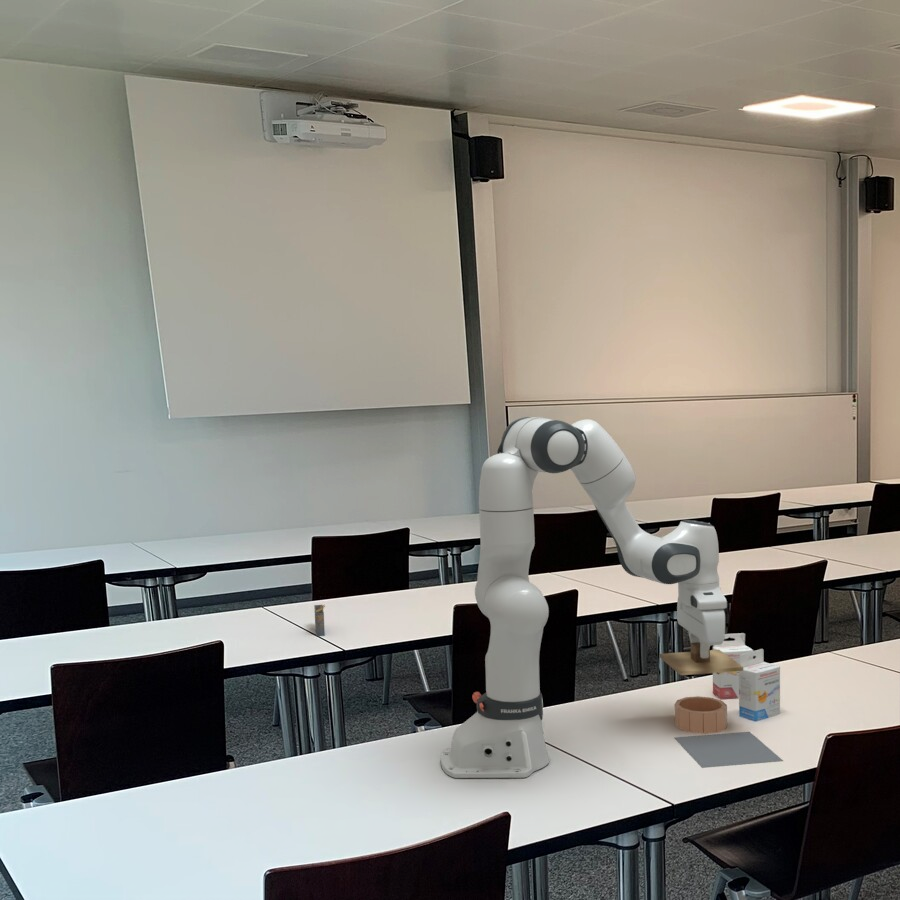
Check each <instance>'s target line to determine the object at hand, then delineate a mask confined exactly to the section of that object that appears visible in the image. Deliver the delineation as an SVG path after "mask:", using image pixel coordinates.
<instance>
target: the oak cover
mask: <svg viewBox="0 0 900 900" xmlns="http://www.w3.org/2000/svg"><path fill="white" fill-rule="evenodd" d="M700 644H701V643H700V642H697V643H691V642H690V651H683V652H682V651H680V652H668V653H667V652H666V653H659V658H660V659H661V660H662V661H664V663H665V664H667V665H668V666H669V667H671V668H672V670H674V671H675V672H676V673H678V675H680V676H688V675H692V676H693V675H703V674H704V675H705V674H713V673H718V672H732V671H743V666H741V665H740V664H738V663H737V662H736V661H734V660H733V659H731V658H730V657H729V656H727V655H726V654H724V653H723V652H722V651H720V650H713V649H711V648H709V657H708V658H701V657H700V656H699V649H700ZM710 649H711V650H710Z"/></svg>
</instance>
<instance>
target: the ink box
mask: <svg viewBox="0 0 900 900" xmlns="http://www.w3.org/2000/svg"><path fill="white" fill-rule="evenodd" d="M764 652H765V651H764V649H763V648H759V649H757V650H753V651H752V652H748V653H745V654H741V655H740V662H739V664H740V665H741V666H743V671H739V698H738V705H739V706H738V707H739V710H738V713H739V717H740V718H743V719H747V720H750V721H752V722H759V721H762V720H766V719H769V718H772V717H775V716H779V715H781V666H779V665H778V664H777V665H776V664H773V663H769V662H766V661H764V659H765V658H764ZM751 655H752V656H753V659H751V660H747V658H748V657H750V656H751Z"/></svg>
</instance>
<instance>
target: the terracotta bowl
mask: <svg viewBox="0 0 900 900" xmlns="http://www.w3.org/2000/svg"><path fill="white" fill-rule="evenodd" d="M674 725H675V726H676V727H677V728H678V729H679V730H682V731H685V732H688V733H694V734H702V735H706V734H717V733H719V732H721V731H725V730H726V728H727V726H728V704H727V703H726V702H724V701H723V700H722V699H718V698H714V697H712V696H711V697H709V696H698V695H696V696H685V697H682V698H679V699H677V700H676V701H675V703H674Z"/></svg>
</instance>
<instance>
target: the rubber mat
mask: <svg viewBox="0 0 900 900" xmlns="http://www.w3.org/2000/svg"><path fill="white" fill-rule="evenodd" d="M673 739H674V740H675V741H676V743H678V745H680V746H681V747H682V748H683V750H684V751H686V753H687V754H688V755H689V756H690V757H691V758H692V759H693V761H695V762H696V763H697V765H699V766H700V768H702V769H704V768H716V767H728V766H729V767H730V766H739V765H740V766H742V765H753V764H764V763H765V764H766V763H767V764H768V763H777V762H784V760H783V759H782V758H781V757H780V756H779V755H777V754H776V753H775V752H774V751H773V750H772V749H771V748H769V747H768V746H767V745H766V744H765V743H763V741H761V740H760V739H758V737H756V736H755V735H754V733H752V732H751V731H738V732H727V733H726V732H725V733H711V734H702V735H701V734H700V735H689V736H676V737H675V736H674V737H673Z"/></svg>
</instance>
